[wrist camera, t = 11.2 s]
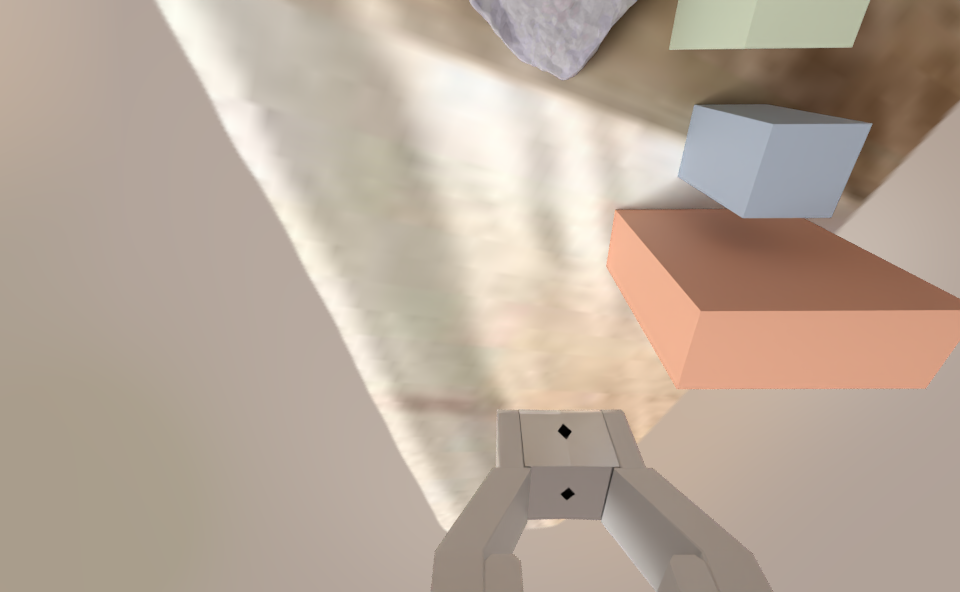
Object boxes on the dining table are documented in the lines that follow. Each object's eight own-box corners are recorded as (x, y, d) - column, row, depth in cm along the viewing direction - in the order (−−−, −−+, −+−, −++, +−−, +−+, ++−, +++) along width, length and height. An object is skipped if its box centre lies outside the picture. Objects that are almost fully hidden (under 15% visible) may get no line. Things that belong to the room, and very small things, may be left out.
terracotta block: (615, 209, 39) (701, 311, 24) (784, 208, 39) (981, 310, 24) (606, 266, 42) (677, 389, 27) (763, 265, 42) (925, 388, 27)
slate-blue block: (694, 104, 35) (773, 124, 25) (766, 104, 35) (872, 123, 25) (677, 176, 38) (742, 218, 28) (743, 176, 38) (831, 217, 28)
